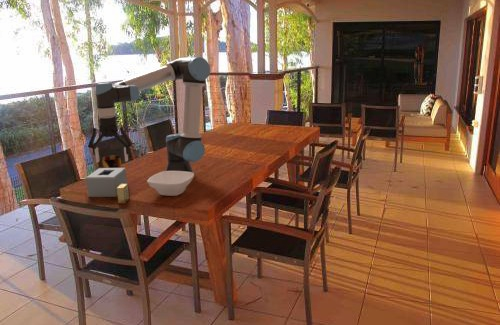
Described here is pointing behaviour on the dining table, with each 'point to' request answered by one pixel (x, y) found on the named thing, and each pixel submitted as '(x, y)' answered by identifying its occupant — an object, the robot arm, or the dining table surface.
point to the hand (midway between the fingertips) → (112, 161)
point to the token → (122, 193)
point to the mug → (112, 162)
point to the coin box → (105, 182)
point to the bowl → (170, 182)
